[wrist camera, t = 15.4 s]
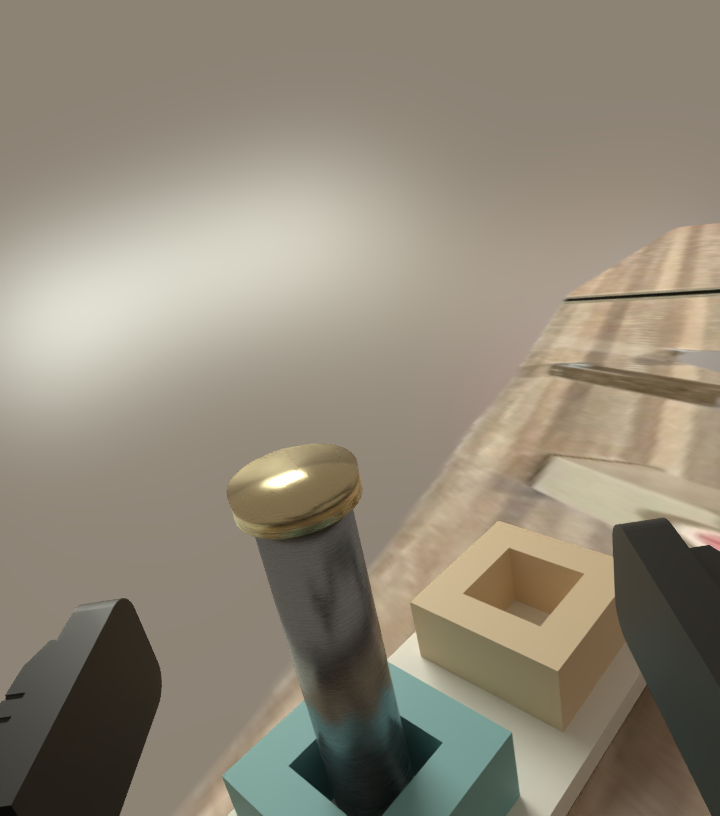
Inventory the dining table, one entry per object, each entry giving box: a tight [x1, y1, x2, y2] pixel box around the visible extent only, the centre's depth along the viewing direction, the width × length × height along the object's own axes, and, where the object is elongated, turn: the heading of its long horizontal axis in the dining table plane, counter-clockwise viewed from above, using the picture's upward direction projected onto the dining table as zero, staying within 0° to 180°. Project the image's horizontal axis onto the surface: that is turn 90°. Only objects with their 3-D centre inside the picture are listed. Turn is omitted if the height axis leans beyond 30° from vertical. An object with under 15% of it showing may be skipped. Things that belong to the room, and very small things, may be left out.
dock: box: [222, 521, 647, 816], centre depth 33 cm, size 25×12×6 cm, turn 136°
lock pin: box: [227, 444, 414, 816], centre depth 26 cm, size 5×5×18 cm
